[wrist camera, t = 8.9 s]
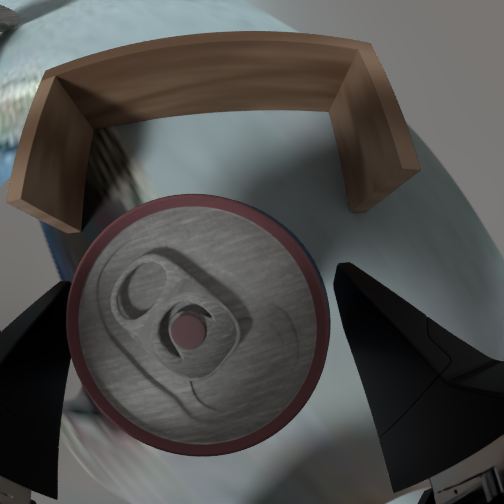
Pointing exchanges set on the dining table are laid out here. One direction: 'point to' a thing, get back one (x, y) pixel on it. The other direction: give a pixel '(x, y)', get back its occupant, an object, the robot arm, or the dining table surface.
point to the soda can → (198, 324)
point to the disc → (8, 19)
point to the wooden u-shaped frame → (210, 108)
